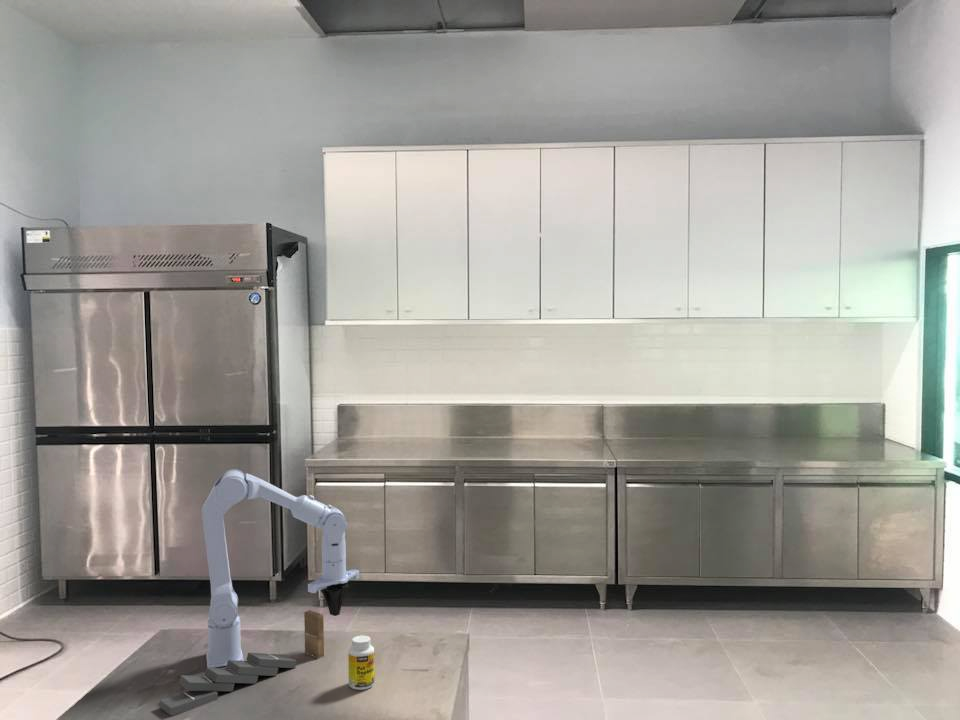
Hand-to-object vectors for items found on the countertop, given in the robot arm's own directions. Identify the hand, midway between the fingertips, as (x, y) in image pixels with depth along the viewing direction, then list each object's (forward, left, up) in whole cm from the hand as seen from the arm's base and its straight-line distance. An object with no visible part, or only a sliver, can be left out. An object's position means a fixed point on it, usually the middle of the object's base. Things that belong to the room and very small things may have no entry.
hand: (334, 614), depth 190 cm
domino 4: (+9, -16, -7) cm, 20 cm away
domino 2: (+16, -29, -7) cm, 34 cm away
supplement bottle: (+23, +2, -8) cm, 25 cm away
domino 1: (+14, -25, -7) cm, 30 cm away
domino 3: (+11, -21, -7) cm, 25 cm away
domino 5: (+7, -12, -7) cm, 15 cm away
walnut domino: (+3, -5, -8) cm, 10 cm away
